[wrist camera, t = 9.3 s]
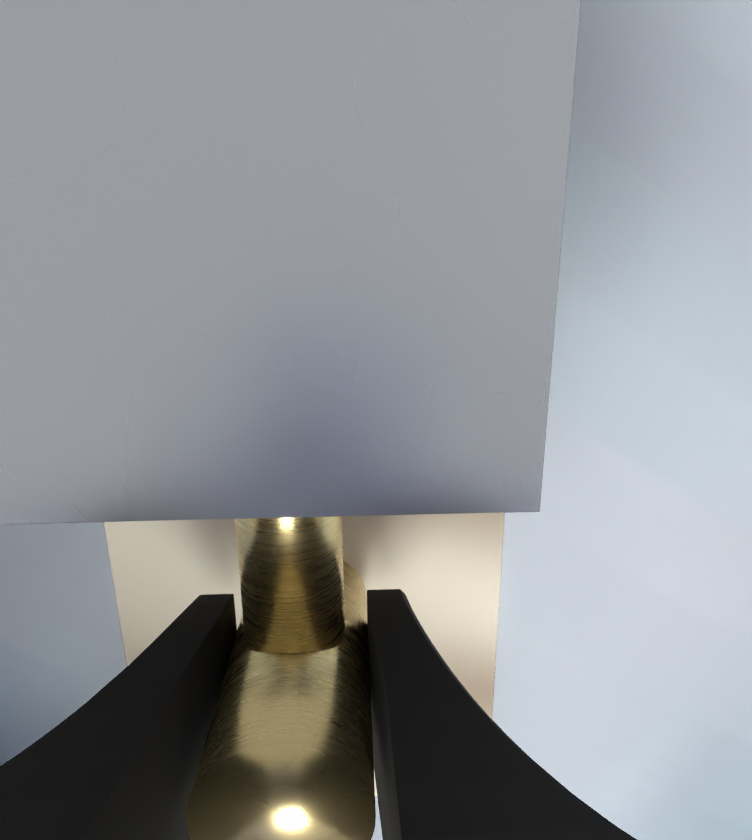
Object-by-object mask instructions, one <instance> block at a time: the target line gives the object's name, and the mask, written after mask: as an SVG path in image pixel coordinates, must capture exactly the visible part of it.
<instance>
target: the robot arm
mask: <svg viewBox="0 0 752 840" xmlns="http://www.w3.org/2000/svg"><path fill="white" fill-rule="evenodd" d="M367 629H368V658H369V671H370V683H371V706H372V733H373V760H374V773H375V781H376V788H377V796H378V804H379V812H380V820H381V828H382V836H383V840H637V839H635V838H633V837H632V836H630V835H629V834H627V833H626V832H624V831H623V830H621V829H619V828H618V827H617V826H615V825H614V824H612V823H611V822H609V821H608V820H607V819H605V818H604V817H603V816H601V815H600V814H599V813H597V812H596V811H595V810H593V809H592V808H591V807H589V806H588V805H587V804H585V803H584V802H583V801H581V800H580V799H579V798H577V797H576V796H575V795H573V794H572V793H571V792H570V791H568V790H567V789H566V788H565V787H564V786H563V785H561V784H560V783H559V782H558V781H557V780H556V779H554V778H553V777H552V776H551V775H550V774H549V773H547V772H546V771H545V770H544V769H543V768H541V767H540V766H539V765H538V764H537V763H536V762H534V761H533V760H532V759H531V758H530V757H529V756H528V755H527V754H526V753H525V752H524V751H523V750H522V749H521V748H520V747H519V746H517V745H516V744H515V743H514V742H513V741H512V740H511V739H510V738H509V737H508V736H507V735H506V734H505V733H504V732H503V731H502V730H501V728H500V727H499V726H498V725H497V724H496V723H495V722H494V721H493V720H492V719H491V718H490V717H489V716H488V715H487V713H486V712H485V711H484V710H483V709H482V708H481V707H480V706H479V704H478V703H477V702H476V701H475V700H474V699H473V697H472V696H471V695H470V694H469V692H468V691H467V690H466V689H465V687H464V686H463V685H462V684H461V682H460V681H459V680H458V679H457V677H456V676H455V675H454V673H453V672H452V671H451V669H450V668H449V667H448V665H447V664H446V662H445V661H444V659H443V658H442V657H441V655H440V654H439V652H438V651H437V649H436V648H435V646H434V645H433V643H432V642H431V640H430V639H429V637H428V636H427V634H426V632H425V631H424V629H423V627H422V626H421V624H420V622H419V621H418V619H417V617H416V615H415V613H414V612H413V610H412V608H411V606H410V603H409V601H408V599H407V597H406V594H405V593H404V592H403V591H402V590H400V589H382V590H367ZM236 633H237V625H236V614H235V603H234V594H206V595H199V596H198V597H197V598H196V599H195V600H194V601H193V602H192V603H191V604H190V605H189V606H188V607H187V608H186V609H185V610H184V611H183V612H182V613H181V614H180V615H179V616H178V617H177V618H176V619H175V620H174V621H173V622H172V623H171V624H170V625H169V626H168V627H167V628H166V629H165V630H164V631H163V632H162V633H161V634H160V635H159V636H158V637H157V638H156V639H155V640H154V641H153V642H152V643H151V644H150V645H149V646H148V647H147V648H146V649H145V650H144V651H143V652H142V653H141V654H140V655H139V656H138V657H137V658H136V659H135V660H134V661H133V662H132V663H130V664H129V665H128V666H127V667H126V668H125V669H124V670H123V671H122V672H121V673H120V674H118V675H117V676H116V677H115V678H114V679H113V680H112V681H110V682H109V683H108V684H107V685H106V686H105V687H104V688H103V689H101V690H100V691H99V692H98V693H97V694H96V695H95V696H93V697H92V698H91V699H90V700H89V701H88V702H87V703H85V704H84V705H83V706H82V707H80V708H79V709H78V710H77V711H76V712H74V713H73V714H72V715H71V716H69V717H68V718H67V719H65V720H64V721H63V722H62V723H60V724H59V725H58V726H56V727H55V728H54V729H52V730H51V731H50V732H48V733H47V734H46V735H44V736H43V737H42V738H40V739H39V740H38V741H36V742H35V743H34V744H32V745H31V746H29V747H28V748H27V749H25V750H24V751H22V752H21V753H20V754H18V755H17V756H15V757H14V758H12V759H11V760H9V761H8V762H6V763H4V764H3V765H1V766H0V840H191V839H190V837H189V834H188V830H187V826H186V808H187V803H188V800H189V796H190V793H191V789H192V786H193V783H194V779H195V776H196V772H197V769H198V765H199V762H200V758H201V755H202V751H203V748H204V744H205V741H206V737H207V734H208V730H209V727H210V723H211V720H212V716H213V713H214V709H215V706H216V703H217V699H218V696H219V692H220V689H221V685H222V682H223V678H224V675H225V671H226V668H227V664H228V661H229V657H230V654H231V650H232V647H233V643H234V640H235V636H236Z"/></svg>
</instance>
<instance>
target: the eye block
mask: <svg viewBox="0 0 752 840" xmlns="http://www.w3.org/2000/svg"><path fill="white" fill-rule="evenodd" d="M580 3H581V0H0V524H41V523H83V522H125V521H167V520H209V519H251V518H293V517H335V516H377V515H419V514H461V513H503V512H540V500H541V488H542V475H543V463H544V450H545V438H546V425H547V413H548V401H549V388H550V376H551V363H552V351H553V339H554V326H555V314H556V301H557V289H558V276H559V264H560V252H561V239H562V227H563V214H564V202H565V190H566V177H567V165H568V152H569V140H570V127H571V115H572V103H573V90H574V78H575V65H576V53H577V41H578V28H579V16H580Z"/></svg>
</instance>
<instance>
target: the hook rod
mask: <svg viewBox="0 0 752 840" xmlns="http://www.w3.org/2000/svg"><path fill="white" fill-rule="evenodd" d="M234 521H235V533H236V544H237V555H238V566H239V578H240V589H241V600H242V616H241V619H240V622H239V626H238V629H237V633H236V636H235V640H234V643H233V647H232V650H231V654H230V657H229V661H228V664H227V668H226V671H225V675H224V678H223V682H222V685H221V689H220V692H219V696H218V699H217V703H216V706H215V709H214V713H213V716H212V720H211V723H210V727H209V730H208V734H207V737H206V741H205V744H204V748H203V751H202V755H201V758H200V762H199V765H198V769H197V772H196V776H195V779H194V783H193V786H192V789H191V793H190V796H189V800H188V803H187V808H186V826H187V830H188V834H189V837H190V839H191V840H371V838H372V836H373V832H374V828H375V818H376V815H375V787H374V760H373V733H372V706H371V683H370V671H369V658H368V629H367V592H366V588H365V586H364V583H363V581H362V579H361V577H360V576H359V574H358V573H357V572H356V571H355V569H354V568H352V567H351V566H350V565H349V564H348V563H347V562H345V561H344V560H343V540H342V516H335V517H293V518H251V519H234Z"/></svg>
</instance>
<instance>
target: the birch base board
mask: <svg viewBox="0 0 752 840" xmlns="http://www.w3.org/2000/svg"><path fill="white" fill-rule="evenodd" d="M504 514H505V512H503V513H461V514H419V515H377V516H342V540H343V560H344V561H345V562H347V563H348V564H349V565H350V566H351V567H352V568H354V569H355V571H356V572H357V573H358V574H359V576H360V577H361V579H362V581H363V583H364V586H365V588H366V592H367V590H382V589H400V590H402V591H403V592H404V593H405V594H406V597H407V599H408V601H409V603H410V606H411V608H412V610H413V612H414V613H415V615H416V617H417V619H418V621H419V622H420V624H421V626H422V627H423V629H424V631H425V632H426V634H427V636H428V637H429V639H430V640H431V642H432V643H433V645H434V646H435V648H436V649H437V651H438V652H439V654H440V655H441V657H442V658H443V659H444V661H445V662H446V664H447V665H448V667H449V668H450V669H451V671H452V672H453V673H454V675H455V676H456V677H457V679H458V680H459V681H460V682H461V684H462V685H463V686H464V687H465V689H466V690H467V691H468V692H469V694H470V695H471V696H472V697H473V699H474V700H475V701H476V702H477V703H478V704H479V706H480V707H481V708H482V709H483V710H484V711H485V712H486V713H487V715H488V716H489V717H490V718H491V719H492V710H493V693H494V677H495V661H496V644H497V628H498V612H499V595H500V579H501V563H502V546H503V530H504ZM104 527H105V534H106V540H107V546H108V552H109V558H110V565H111V571H112V577H113V583H114V589H115V596H116V602H117V608H118V614H119V620H120V627H121V633H122V639H123V645H124V651H125V658H126V664H127V666H128V665H129V664H130V663H132V662H133V661H134V660H135V659H136V658H137V657H138V656H139V655H140V654H141V653H142V652H143V651H144V650H145V649H146V648H147V647H148V646H149V645H150V644H151V643H152V642H153V641H154V640H155V639H156V638H157V637H158V636H159V635H160V634H161V633H162V632H163V631H164V630H165V629H166V628H167V627H168V626H169V625H170V624H171V623H172V622H173V621H174V620H175V619H176V618H177V617H178V616H179V615H180V614H181V613H182V612H183V611H184V610H185V609H186V608H187V607H188V606H189V605H190V604H191V603H192V602H193V601H194V600H195V599H196V598H197V597H198V596H199V595H206V594H234V603H235V614H236V625H237V629H238V626H239V622H240V619H241V616H242V600H241V589H240V578H239V566H238V555H237V544H236V533H235V521H234V519H209V520H167V521H125V522H104ZM374 787H375V797H377V788H376V781H375V773H374Z"/></svg>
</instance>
